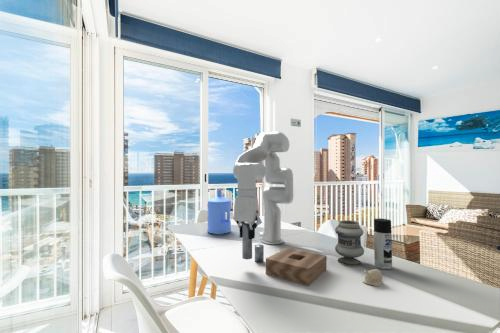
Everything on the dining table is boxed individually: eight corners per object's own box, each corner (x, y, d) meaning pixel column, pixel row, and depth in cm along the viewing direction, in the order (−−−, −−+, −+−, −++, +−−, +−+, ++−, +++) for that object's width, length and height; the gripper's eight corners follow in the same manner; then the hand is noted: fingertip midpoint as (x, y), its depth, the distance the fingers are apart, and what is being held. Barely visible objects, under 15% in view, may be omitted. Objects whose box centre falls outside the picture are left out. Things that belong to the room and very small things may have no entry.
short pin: (253, 261, 115) (253, 246, 115) (258, 259, 118) (258, 243, 118) (260, 263, 112) (260, 247, 113) (265, 261, 116) (265, 245, 116)
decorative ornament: (386, 284, 92) (386, 269, 92) (367, 287, 89) (366, 272, 89) (377, 280, 96) (377, 265, 96) (359, 282, 93) (358, 268, 93)
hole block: (265, 273, 101) (265, 258, 101) (287, 260, 116) (287, 247, 116) (308, 286, 90) (308, 268, 91) (326, 270, 105) (326, 255, 105)
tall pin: (240, 257, 105) (240, 223, 105) (246, 255, 108) (246, 222, 108) (248, 260, 102) (248, 225, 102) (254, 257, 106) (253, 223, 106)
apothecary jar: (330, 262, 114) (330, 221, 114) (341, 256, 123) (341, 218, 123) (358, 269, 106) (357, 225, 106) (368, 262, 114) (367, 221, 115)
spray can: (385, 271, 104) (385, 221, 105) (370, 265, 110) (370, 219, 111) (395, 268, 107) (395, 220, 108) (380, 262, 113) (380, 217, 114)
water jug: (204, 234, 164) (204, 190, 165) (211, 228, 180) (211, 188, 180) (227, 235, 162) (227, 191, 162) (233, 229, 177) (233, 189, 178)
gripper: (225, 192, 107) (225, 236, 107) (258, 195, 97) (258, 243, 97) (236, 191, 113) (237, 232, 113) (268, 193, 103) (269, 239, 103)
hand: (247, 237), depth 105 cm, fingers closed on tall pin, 4 cm apart
